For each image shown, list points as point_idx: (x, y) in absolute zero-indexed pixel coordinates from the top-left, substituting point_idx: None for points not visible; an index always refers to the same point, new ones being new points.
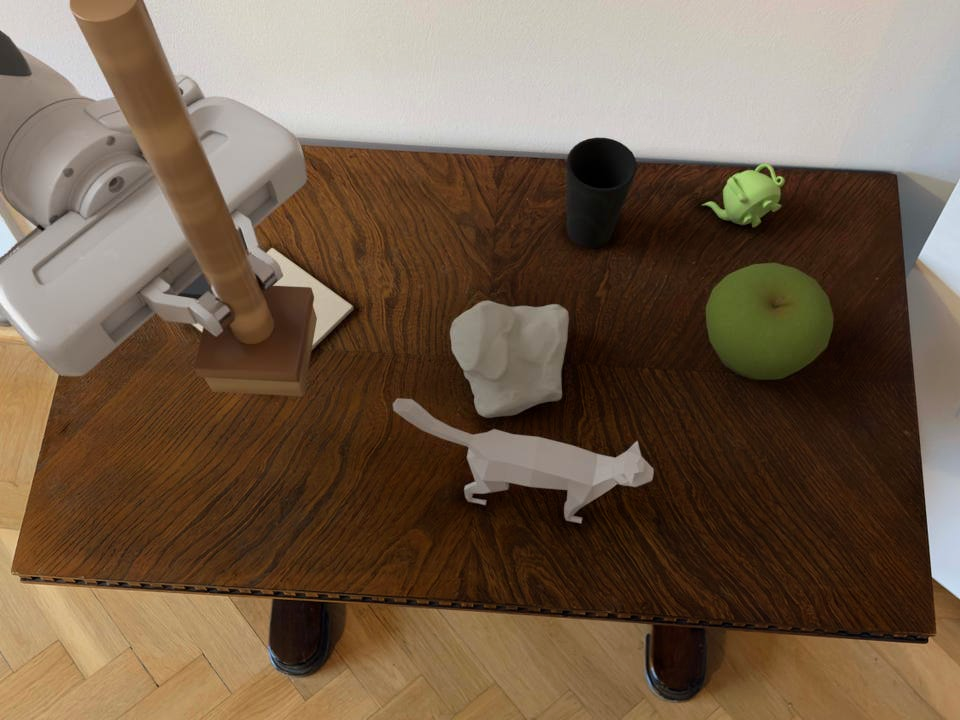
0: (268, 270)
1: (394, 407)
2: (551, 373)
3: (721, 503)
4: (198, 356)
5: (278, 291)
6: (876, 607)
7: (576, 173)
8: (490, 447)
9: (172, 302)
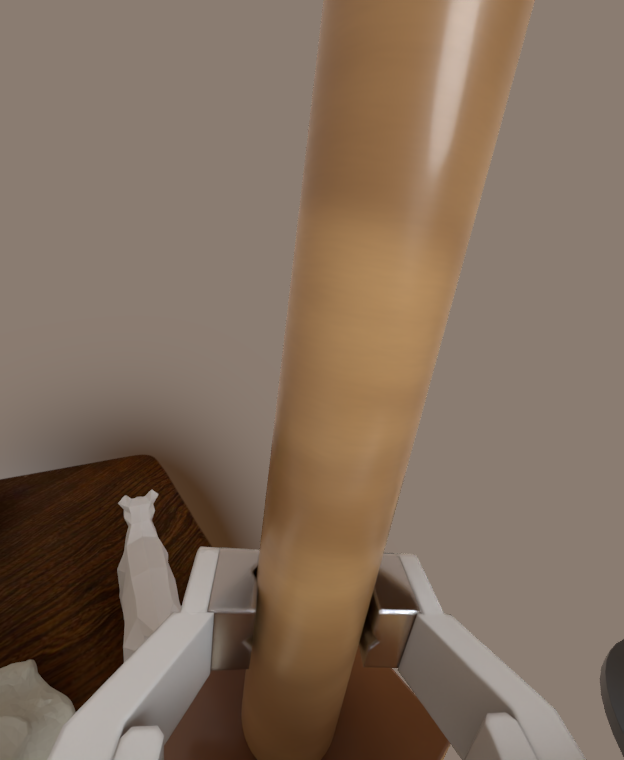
0: (230, 548)
1: None
2: (4, 672)
3: (111, 530)
4: (431, 756)
5: (173, 744)
6: (150, 464)
7: None
8: (160, 606)
9: (488, 655)
